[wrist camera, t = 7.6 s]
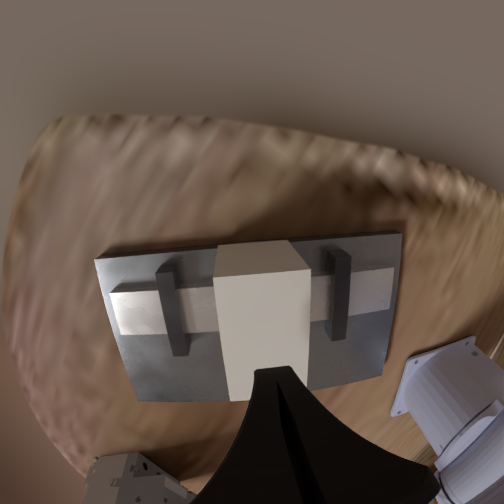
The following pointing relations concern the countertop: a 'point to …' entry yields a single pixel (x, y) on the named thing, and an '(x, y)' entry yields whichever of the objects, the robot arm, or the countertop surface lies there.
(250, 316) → the block
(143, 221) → the countertop surface
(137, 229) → the countertop surface
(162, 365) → the rail board
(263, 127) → the countertop surface
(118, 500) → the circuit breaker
